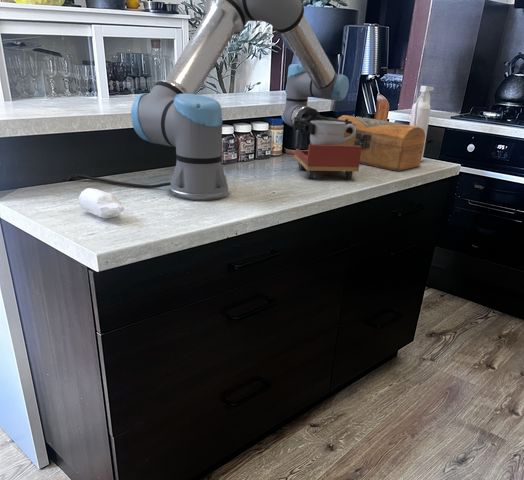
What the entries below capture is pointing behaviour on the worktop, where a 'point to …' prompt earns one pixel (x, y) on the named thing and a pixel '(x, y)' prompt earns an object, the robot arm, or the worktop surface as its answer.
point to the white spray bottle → (422, 111)
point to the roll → (100, 203)
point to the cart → (329, 159)
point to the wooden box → (386, 143)
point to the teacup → (330, 133)
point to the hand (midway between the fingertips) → (333, 129)
